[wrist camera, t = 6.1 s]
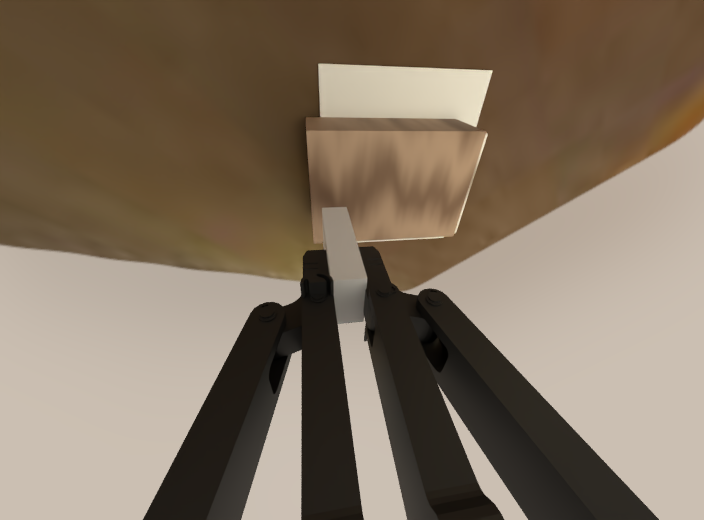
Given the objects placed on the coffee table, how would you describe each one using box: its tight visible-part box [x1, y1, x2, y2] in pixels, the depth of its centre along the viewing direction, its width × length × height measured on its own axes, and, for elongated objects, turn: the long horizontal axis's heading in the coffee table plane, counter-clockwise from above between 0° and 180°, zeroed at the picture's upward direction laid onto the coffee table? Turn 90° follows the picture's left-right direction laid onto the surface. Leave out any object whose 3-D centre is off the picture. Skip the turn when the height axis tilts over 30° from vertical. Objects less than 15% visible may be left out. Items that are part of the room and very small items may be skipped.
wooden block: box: [306, 117, 488, 244], centre depth 23 cm, size 9×5×13 cm
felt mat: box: [318, 64, 492, 242], centre depth 25 cm, size 16×14×1 cm
